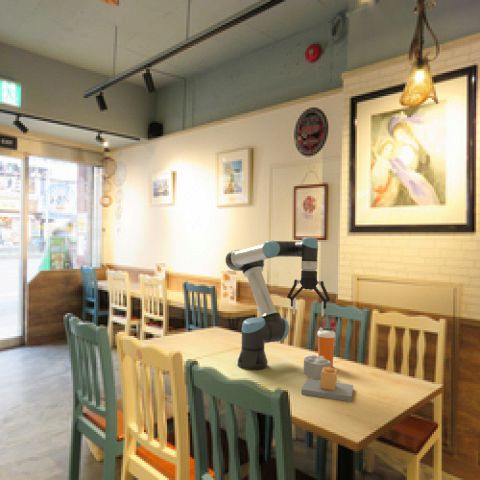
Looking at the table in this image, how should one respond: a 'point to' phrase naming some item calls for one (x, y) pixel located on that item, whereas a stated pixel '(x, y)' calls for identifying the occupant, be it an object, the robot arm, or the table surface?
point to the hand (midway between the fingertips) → (308, 314)
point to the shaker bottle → (326, 343)
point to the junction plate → (340, 391)
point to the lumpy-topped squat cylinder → (315, 366)
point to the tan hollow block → (328, 378)
